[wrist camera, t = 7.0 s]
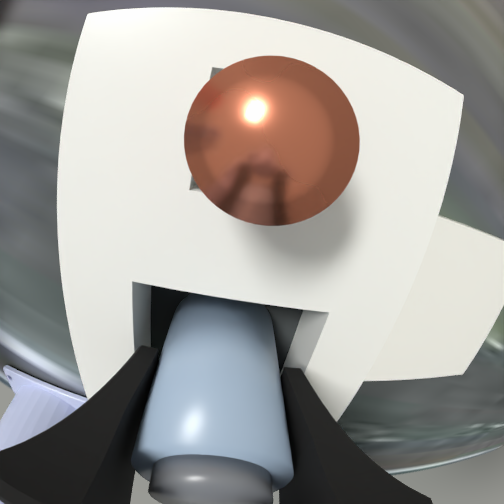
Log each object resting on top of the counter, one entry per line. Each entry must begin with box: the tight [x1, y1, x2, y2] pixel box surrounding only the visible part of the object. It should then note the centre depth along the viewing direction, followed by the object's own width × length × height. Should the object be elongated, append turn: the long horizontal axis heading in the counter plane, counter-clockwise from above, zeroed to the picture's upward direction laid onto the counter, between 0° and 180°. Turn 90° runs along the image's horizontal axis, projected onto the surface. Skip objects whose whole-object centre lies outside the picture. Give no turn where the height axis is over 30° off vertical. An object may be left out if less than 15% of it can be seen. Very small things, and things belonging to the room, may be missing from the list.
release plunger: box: [184, 55, 360, 226], centre depth 7 cm, size 3×3×4 cm
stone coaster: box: [364, 215, 504, 381], centre depth 12 cm, size 9×9×1 cm
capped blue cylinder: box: [131, 293, 294, 504], centre depth 9 cm, size 4×4×8 cm
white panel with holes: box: [57, 8, 464, 422], centre depth 10 cm, size 16×12×2 cm
